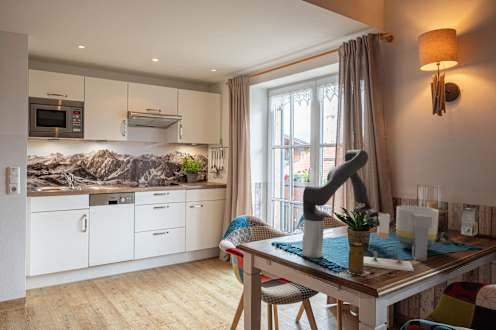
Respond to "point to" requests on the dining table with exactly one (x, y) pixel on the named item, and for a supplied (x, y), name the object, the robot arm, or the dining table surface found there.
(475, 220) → the coffee box
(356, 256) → the condiment
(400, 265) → the pin board
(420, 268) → the dining table surface
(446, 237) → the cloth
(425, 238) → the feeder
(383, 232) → the sleeve
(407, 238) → the planter
